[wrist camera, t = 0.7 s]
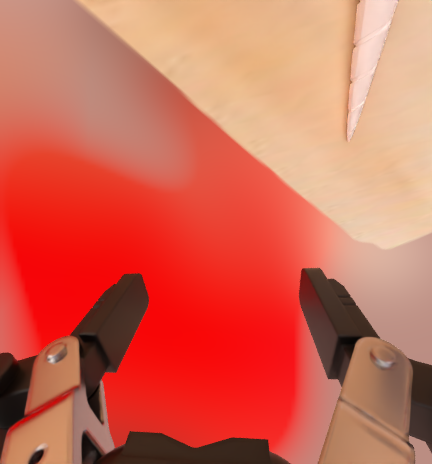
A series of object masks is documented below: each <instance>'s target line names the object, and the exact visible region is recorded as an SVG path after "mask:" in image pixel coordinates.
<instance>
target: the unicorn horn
mask: <svg viewBox="0 0 432 464" xmlns="http://www.w3.org/2000/svg"><path fill="white" fill-rule="evenodd" d="M398 1H399V0H360V3H359V4H358V5H357V10H356V23H355V33H354V45H356V48H354V49H353V54H352V65H351V76H350V80H351V81H352V84H350V89H349V102H348V111H349V112H350V113H348V119H347V136H348V137H347V141H348V142H349V141H350V140H351V138H352V136H353V133H354V131H355V128H356V125H357V123H358V120H359V118H360V115H361V112H362V109H363V106H364V103H365V100H366V97H367V95H368V92H369V89H370V86H371V83H372V80H373V77H374V73H375V70H376V67H377V63H378V61H379V59H380V56H381V53H382V50H383V47H384V44H385V41H386V38H387V34H388V31H389V28H390V25H391V22H392V16H393V15H394V13H395V10H396V7H397V4H398Z"/></svg>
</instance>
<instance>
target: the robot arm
mask: <svg viewBox="0 0 432 464" xmlns="http://www.w3.org/2000/svg"><path fill="white" fill-rule="evenodd" d="M299 299H300V305H301V308H302V311H303V313H304V316H305V318H306V321H307V324H308V327H309V329H310V332H311V335H312V337H313V340H314V342H315V345H316V348H317V351H318V353H319V356H320V358H321V361H322V364H323V367H324V369H325V372H326V375H327V377H328V379H338V380H339V382H340V384H341V387H342V389H341V393H340V396H339V398H338V401H337V404H336V407H335V410H334V413H333V417H332V420H331V423H330V426H329V429H328V432H327V436H326V439H325V442H324V445H323V448H322V451H321V455H320V458H319V461H318V464H415V451H414V447H413V445H412V444H410V443H409V435H410V436H412V437H415V438H417V439H420V440H423V441H425V442H426V444H427V445H428V447H429V449H430V451H431V452H432V365H429V364H425V363H421V362H417V361H414V360H411V359H409V358H407V357H406V356H405V355H404V354H403V352H401V351H400V350H399V349H398V348H397V347H395V346H394V345H392V344H391V343H389V342H387V341H384V340H382V339H380V337H379V336H378V335H377V334H376V332H375V330H374V329H373V328H372V326H371V325H370V323H369V322H368V320H367V319H366V318H365V316H364V315H363V313H362V312H361V310H360V309H359V308H358V306H356V303H355V302H354V300H353V299H352V298H351V297H350V294H349V293H348V292H347V290H346V289H345V287H344V286H343V285H341V284H340V283H339V282H337V281H336V280H334V279H327V278H326V276H325V275H324V273H323V271H322V270H321V269H320V268H304V269H302V271H301V280H300V290H299ZM148 304H149V297H148V293H147V290H146V287H145V284H144V281H143V277H142V275H141V274H139V273H138V274H124V275H123V276H122V277H121V279H120V280H119V281H118V283H117V284H114V285H113V286H111V287H110V288H109V289H108V290H106V291H105V292H104V293H103V295H102V296H101V297H100V298H99V299H98V301H97V302H96V303H95V305H94V306H93V308H91V309H90V311H89V312H88V313H87V314H86V316H85V317H84V318H83V320H82V321H81V322H80V323H79V325H78V326H77V327H76V328H75V330H74V331H73V332H72V333H71V335H70V336H65V337H62V338H59V339H57V340H55V341H54V342H52V343H50V344H49V345H47V346H46V347H45V348H44V349H43V350H42V351H41V352H40V353H39V354H38V355H36V356H33V357H29V358H26V359H23V360H19V361H17V360H16V359H15V358H14V357H13V355H12V354H10V353H1V354H0V464H290V463H289V462H288V461H286V460H285V459H283V458H282V457H280V456H278V455H276V454H274V453H272V452H270V451H269V445H268V440H265V439H248V438H229V439H226V440H222V441H219V442H215V443H212V444H209V445H205V446H202V447H199V448H192V447H190V446H188V445H186V444H184V443H181V442H179V441H177V440H175V439H173V438H171V437H168V436H166V435H164V434H162V433H148V432H131V431H130V433H129V435H128V438H127V441H126V444H124V445H122V446H119V447H117V448H114V444H113V441H112V438H111V435H110V432H109V427H108V419H107V411H106V404H105V396H104V387H103V382H102V380H101V379H102V377H103V375H104V373H105V372H113V373H114V372H115V373H116V372H117V370H118V367H119V365H120V363H121V361H122V359H123V357H124V355H125V353H126V351H127V349H128V347H129V345H130V343H131V341H132V339H133V337H134V335H135V332H136V330H137V328H138V326H139V324H140V322H141V320H142V318H143V316H144V314H145V312H146V310H147V307H148Z"/></svg>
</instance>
